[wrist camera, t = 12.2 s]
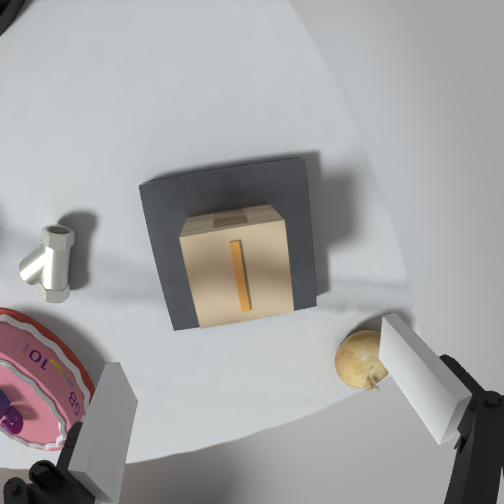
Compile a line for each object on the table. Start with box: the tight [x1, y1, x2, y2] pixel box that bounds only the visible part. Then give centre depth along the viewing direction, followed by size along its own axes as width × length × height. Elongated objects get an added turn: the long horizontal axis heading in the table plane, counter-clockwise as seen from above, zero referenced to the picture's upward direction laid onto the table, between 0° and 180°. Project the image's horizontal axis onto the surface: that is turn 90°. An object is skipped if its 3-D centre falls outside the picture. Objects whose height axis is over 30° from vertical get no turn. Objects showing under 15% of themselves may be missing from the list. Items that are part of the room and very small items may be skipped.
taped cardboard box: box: [179, 204, 294, 328], centre depth 28 cm, size 8×8×7 cm
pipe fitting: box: [19, 225, 75, 303], centre depth 30 cm, size 8×4×7 cm
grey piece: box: [139, 158, 317, 331], centre depth 30 cm, size 16×16×8 cm
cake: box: [0, 308, 95, 451], centre depth 32 cm, size 25×25×11 cm
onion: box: [335, 330, 389, 391], centre depth 37 cm, size 8×8×7 cm
